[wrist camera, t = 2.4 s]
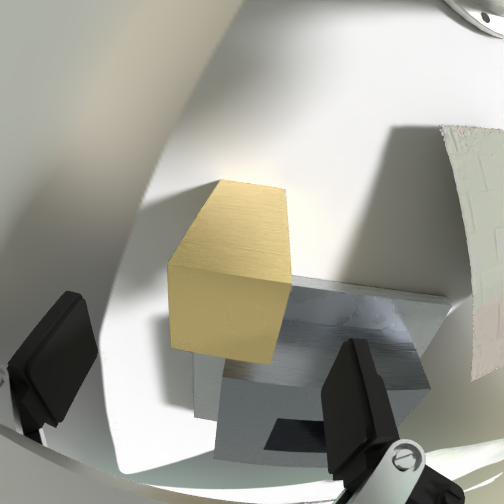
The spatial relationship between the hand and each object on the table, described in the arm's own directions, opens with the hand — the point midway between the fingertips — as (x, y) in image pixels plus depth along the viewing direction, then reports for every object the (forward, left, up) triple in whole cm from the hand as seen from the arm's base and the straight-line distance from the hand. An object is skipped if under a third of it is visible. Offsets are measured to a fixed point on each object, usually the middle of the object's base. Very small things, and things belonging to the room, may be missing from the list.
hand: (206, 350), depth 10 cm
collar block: (+13, +7, -11) cm, 19 cm away
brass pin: (-1, 0, -11) cm, 11 cm away
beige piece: (-5, +20, -11) cm, 23 cm away
